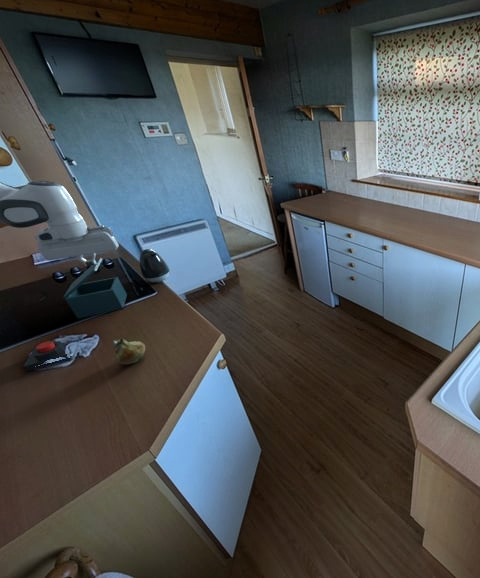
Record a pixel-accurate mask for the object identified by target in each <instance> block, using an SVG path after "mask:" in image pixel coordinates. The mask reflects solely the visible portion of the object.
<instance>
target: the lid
mask: <svg viewBox="0 0 480 578" xmlns="http://www.w3.org/2000/svg"><path fill="white" fill-rule="evenodd" d="M95 261H96V263H97V264H96V265H91V266H89V267H88V268H87V269H86V270H84V272H83V273H82V274H81V275H80V276H78V277H77V278H76V279H75V280H73V282H72V283H71V284H70V286H69V287H68V289H67V291H66V292H65V294H64V295H63V297H62V298H63V299H66V298H67V297H68V296H69V295H70V294H72V293H73V292H74V291H75V290H76V289H77V288H78V287H79V286H80V285H82V284H83V283H86V281H87V280H89V278H91V277H92V276H93V275H94V274H95V273H96V272H97V271H98V269H99V267H100V266H101V263H102V262H103V258H102V257H100V258H99V259H98V260H95Z"/></svg>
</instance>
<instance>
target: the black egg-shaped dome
mask: <svg viewBox="0 0 480 578" xmlns="http://www.w3.org/2000/svg"><path fill="white" fill-rule="evenodd" d="M139 268H140V272H141V275H142V277H143V278H144V279H145V280H147V281H148V282H150V283H161V282H164V281H166V280H168V278H169V277H170V268H169V265H168V264H167V263H166V261H165V260H164V258H162V256H161V255H160V254H159V253H158V252H156V251H155V250H153V249H150V248H146V249H143V250H142V251H140V254H139Z"/></svg>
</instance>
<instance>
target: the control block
mask: <svg viewBox="0 0 480 578" xmlns="http://www.w3.org/2000/svg"><path fill="white" fill-rule="evenodd" d="M74 340H75V339H73V341H74ZM71 341H72V340H70V341H65V342H66V343H67V342H71ZM52 342H53V343H54V344H55V346H56V347H55V348H53V349H52V350H50V351H48V352H44V353H40V352H39V351H38V350H37V349H36V348H34V349H33V350H32V352H30V355H29V356H28V358H27V359H26V361H25V362H24V364H23V365H22V366H23V367H22V368H23V369H24V370H25V371H26V372H32V371H36V370H39V369H43V368H46V367H50V366H54V365H58V364H61V363H66V362H68V361H72V360H73V358H74V356H75V354H74V355H73V356H70V358H66V359H62V360H59V361H55V362H52V363H47V364H44V365H41V364H43V363H44V362H45V361H47V360H50V359H56V358H59V357H66V356H67V354H65V352H64V349H65V347H66V344H65V343H64V342H62V341H60V340H53V341H52ZM38 365H40V366H38ZM35 366H36V367H35Z"/></svg>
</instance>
